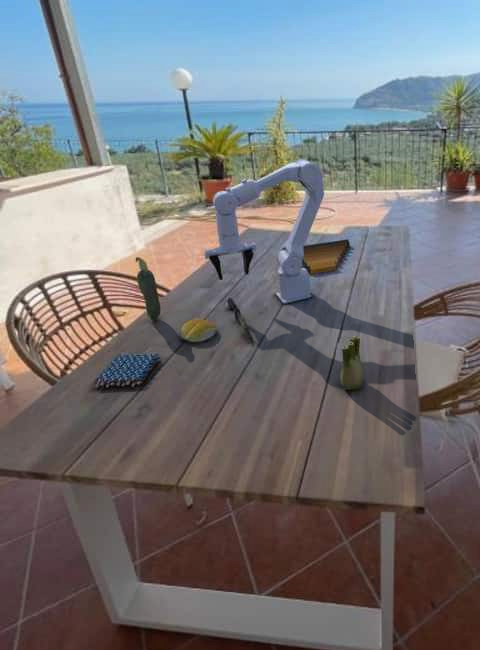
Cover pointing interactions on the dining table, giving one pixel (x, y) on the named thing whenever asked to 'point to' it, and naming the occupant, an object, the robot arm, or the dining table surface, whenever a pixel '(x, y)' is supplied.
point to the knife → (238, 316)
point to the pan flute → (324, 256)
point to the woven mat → (127, 370)
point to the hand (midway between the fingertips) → (233, 276)
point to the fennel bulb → (351, 365)
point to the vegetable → (148, 289)
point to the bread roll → (198, 330)
